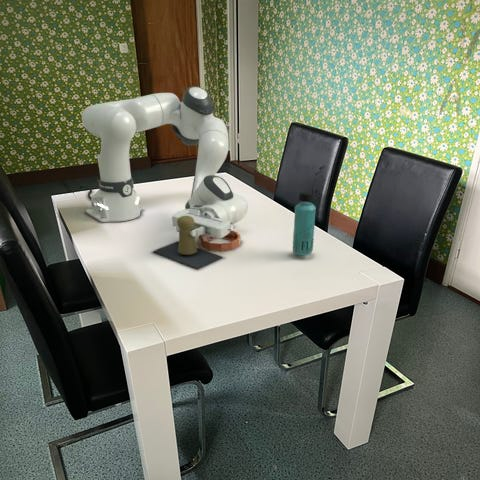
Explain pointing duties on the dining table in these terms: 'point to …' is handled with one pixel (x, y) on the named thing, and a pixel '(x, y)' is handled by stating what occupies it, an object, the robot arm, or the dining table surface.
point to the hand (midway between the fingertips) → (184, 231)
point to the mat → (188, 256)
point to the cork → (186, 236)
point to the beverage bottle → (304, 225)
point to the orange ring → (231, 236)
